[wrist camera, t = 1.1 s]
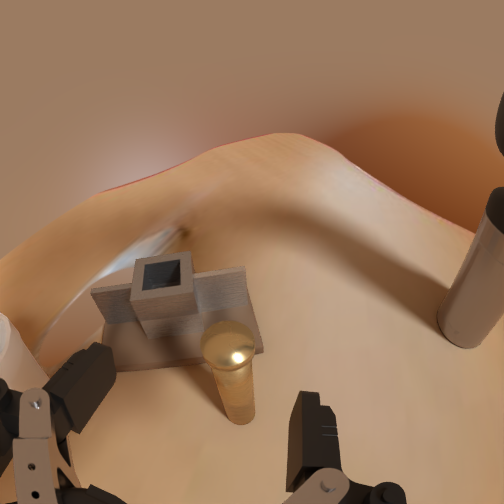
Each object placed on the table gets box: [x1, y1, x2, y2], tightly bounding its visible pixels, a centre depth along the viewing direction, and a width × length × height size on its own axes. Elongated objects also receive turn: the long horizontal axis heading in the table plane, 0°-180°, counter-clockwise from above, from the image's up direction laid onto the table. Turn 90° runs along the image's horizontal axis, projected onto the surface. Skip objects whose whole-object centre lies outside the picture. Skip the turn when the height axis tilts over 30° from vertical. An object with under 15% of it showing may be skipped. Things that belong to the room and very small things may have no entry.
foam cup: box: [0, 312, 50, 393], centre depth 21 cm, size 10×9×13 cm
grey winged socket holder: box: [91, 251, 248, 339], centre depth 34 cm, size 19×7×7 cm, turn 102°
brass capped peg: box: [200, 321, 255, 425], centre depth 23 cm, size 4×4×14 cm
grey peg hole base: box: [102, 289, 263, 372], centre depth 36 cm, size 20×14×2 cm
